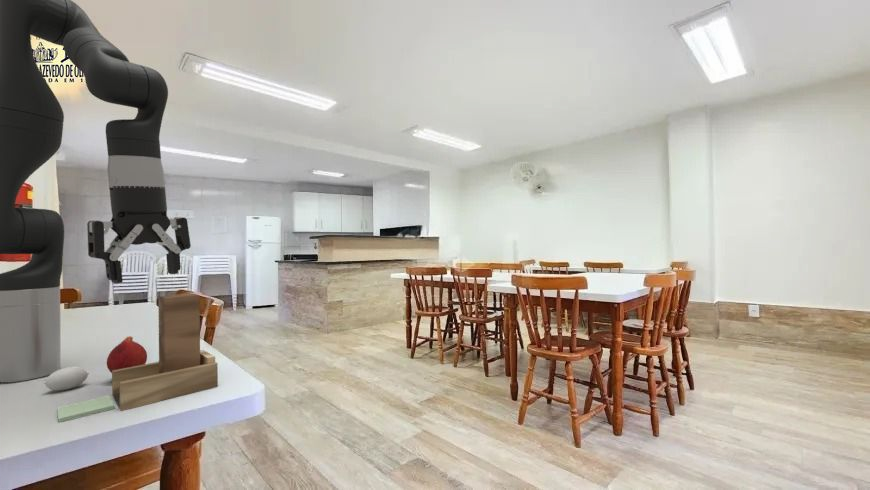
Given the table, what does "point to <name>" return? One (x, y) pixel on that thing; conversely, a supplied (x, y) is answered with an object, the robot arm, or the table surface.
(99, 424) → the table surface
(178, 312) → the post
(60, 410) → the pad
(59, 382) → the egg
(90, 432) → the table surface
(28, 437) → the table surface
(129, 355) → the onion
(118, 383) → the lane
